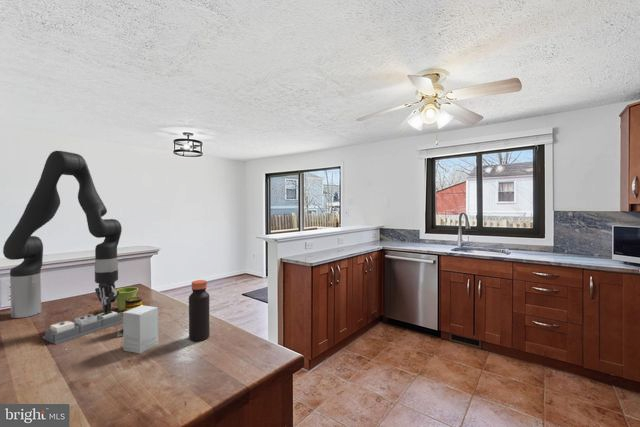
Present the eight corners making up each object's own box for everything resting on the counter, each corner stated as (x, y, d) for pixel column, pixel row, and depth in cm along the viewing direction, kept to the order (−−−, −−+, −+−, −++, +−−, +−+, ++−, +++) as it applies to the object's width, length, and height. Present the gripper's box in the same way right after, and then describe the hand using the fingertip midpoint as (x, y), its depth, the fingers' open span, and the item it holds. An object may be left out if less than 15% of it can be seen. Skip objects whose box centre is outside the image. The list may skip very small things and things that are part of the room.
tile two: (74, 325, 110) (74, 317, 110) (90, 321, 115) (90, 313, 115) (81, 328, 108) (81, 319, 108) (97, 323, 112) (97, 315, 112)
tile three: (96, 321, 117) (96, 313, 117) (110, 317, 121) (110, 309, 121) (103, 324, 114) (103, 315, 114) (117, 319, 119) (117, 311, 119)
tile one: (50, 333, 104) (50, 324, 104) (67, 328, 108) (67, 319, 108) (57, 336, 102) (56, 326, 101) (74, 330, 106) (74, 321, 106)
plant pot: (133, 304, 140) (132, 285, 140) (142, 308, 135) (141, 289, 135) (110, 309, 133) (109, 290, 133) (118, 314, 127) (118, 294, 127)
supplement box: (159, 344, 100) (159, 307, 100) (139, 354, 93) (139, 314, 93) (142, 340, 102) (142, 304, 102) (122, 350, 95) (122, 311, 95)
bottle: (213, 335, 107) (213, 280, 106) (198, 343, 101) (198, 285, 100) (199, 332, 110) (199, 278, 109) (184, 339, 104) (184, 282, 103)
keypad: (42, 338, 104) (42, 329, 104) (110, 317, 123) (110, 310, 123) (55, 344, 99) (55, 335, 99) (124, 321, 119) (124, 314, 119)
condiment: (144, 331, 110) (144, 299, 109) (117, 337, 105) (116, 303, 105) (143, 325, 116) (143, 294, 116) (117, 330, 111) (117, 298, 111)
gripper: (86, 269, 117) (87, 313, 117) (105, 273, 111) (106, 319, 111) (107, 266, 124) (108, 307, 124) (126, 269, 118) (126, 312, 118)
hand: (107, 312), depth 118 cm, fingers closed
